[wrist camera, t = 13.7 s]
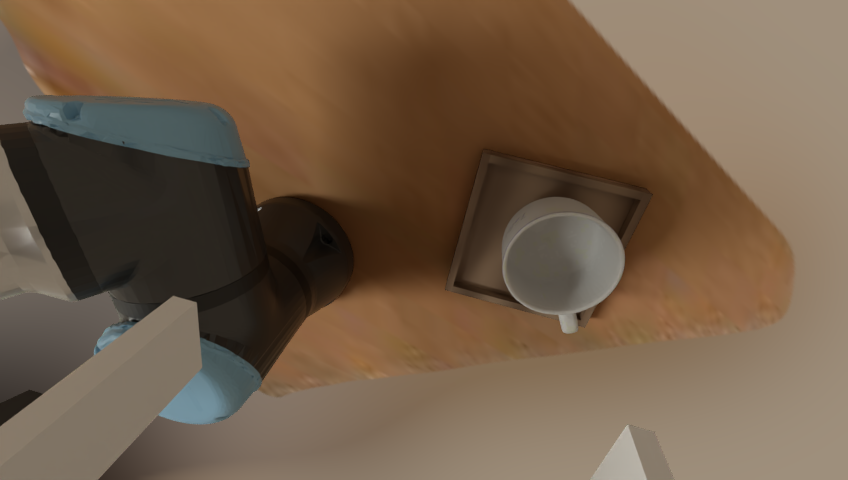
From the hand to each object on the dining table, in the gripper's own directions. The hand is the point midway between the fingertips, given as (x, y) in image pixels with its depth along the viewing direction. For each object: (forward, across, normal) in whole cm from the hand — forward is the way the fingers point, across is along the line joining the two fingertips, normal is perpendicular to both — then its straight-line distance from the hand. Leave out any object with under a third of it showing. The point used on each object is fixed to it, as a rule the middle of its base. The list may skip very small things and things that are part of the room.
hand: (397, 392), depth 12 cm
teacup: (+32, +12, -8) cm, 35 cm away
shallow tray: (+33, +10, -8) cm, 35 cm away
